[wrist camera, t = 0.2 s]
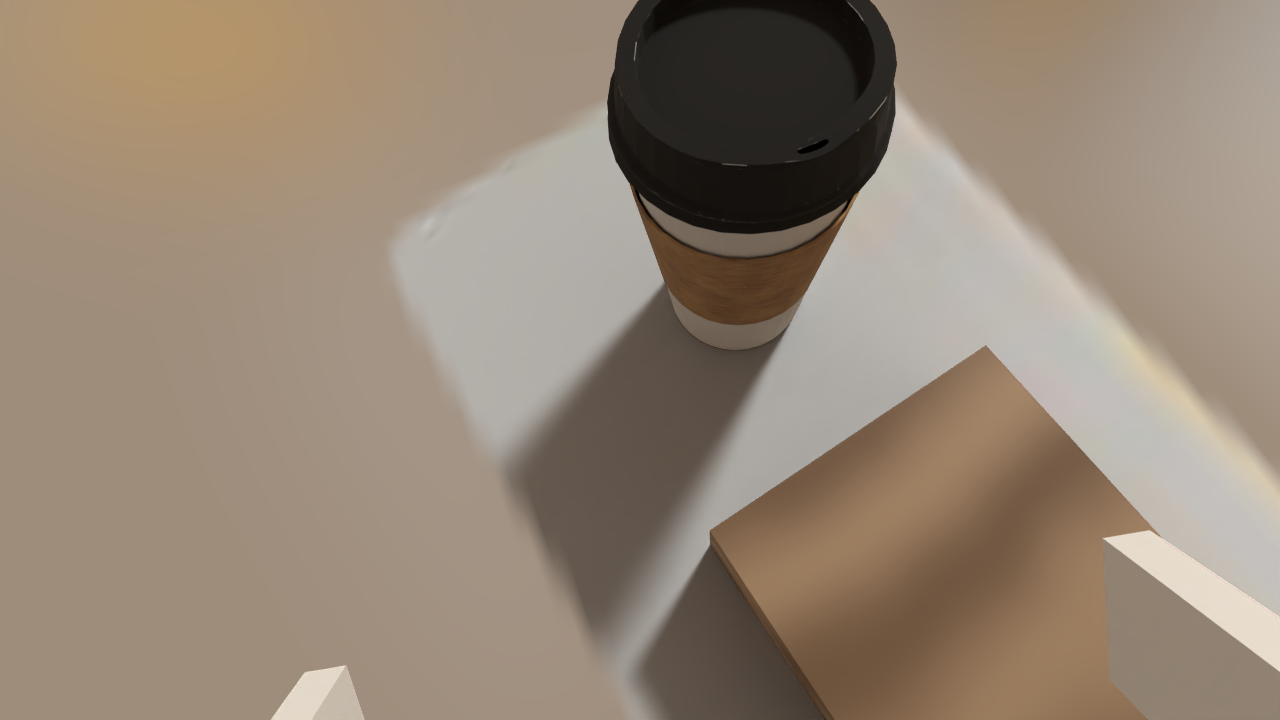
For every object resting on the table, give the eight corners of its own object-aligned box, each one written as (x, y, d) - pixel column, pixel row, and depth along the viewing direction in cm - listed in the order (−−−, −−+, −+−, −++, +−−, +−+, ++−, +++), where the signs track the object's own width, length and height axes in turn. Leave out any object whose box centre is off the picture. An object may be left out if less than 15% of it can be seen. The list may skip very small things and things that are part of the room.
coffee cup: (685, 406, 31) (663, 229, 17) (618, 250, 34) (552, -10, 20) (860, 335, 31) (983, 103, 17) (779, 188, 34) (825, -113, 20)
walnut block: (1164, 644, 26) (1264, 650, 21) (904, 841, 24) (949, 894, 20) (943, 387, 30) (986, 345, 25) (710, 544, 29) (709, 530, 24)
